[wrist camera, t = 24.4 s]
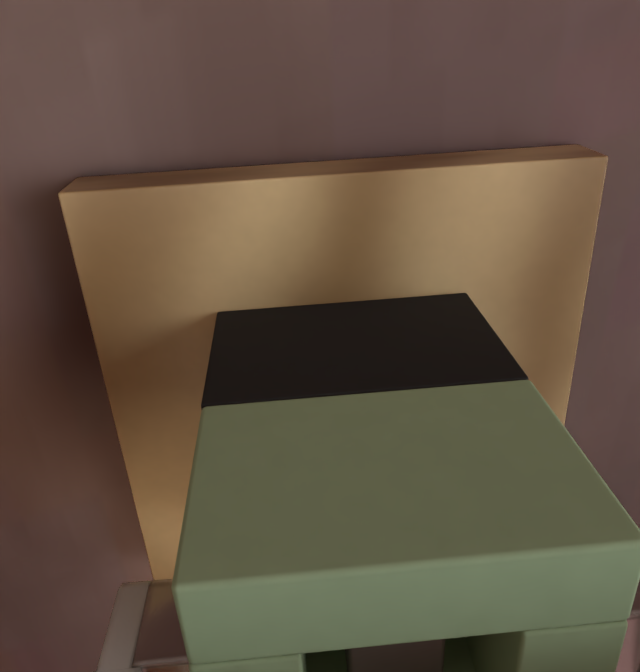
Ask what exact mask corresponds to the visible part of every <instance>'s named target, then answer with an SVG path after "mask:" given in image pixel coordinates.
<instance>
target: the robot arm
mask: <svg viewBox="0 0 640 672" xmlns="http://www.w3.org/2000/svg"><path fill="white" fill-rule="evenodd" d="M172 581H173V579H164V580H152V581H141V582H128V583H122V585H121V586H120V588H119V590H118V591H117V595H116V598H115V602H114V606H113V610H112V613H111V617H110V621H109V625H108V628H107V632H106V636H105V640H104V643H103V647H102V651H101V655H100V658H99V662H98V666H97V670H96V671H95V672H190V671H189V661H188V658H187V654H186V650H185V646H184V641H183V637H182V633H181V628H180V624H179V620H178V615H177V611H176V607H175V602H174V598H173V594H172V589H171V587H172ZM627 622H628V627H627V631H626V635H625V638H624V642H623V646H622V649H621V653H620V657H619V660H618V664H617V668H616V671H615V672H640V580H639V583H638V587H637V591H636V594H635V598H634V602H633V605H632V609H631V613H630V616H629V618H628V619H627Z"/></svg>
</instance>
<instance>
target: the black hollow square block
mask: <svg viewBox="0 0 640 672" xmlns="http://www.w3.org/2000/svg"><path fill="white" fill-rule="evenodd" d="M517 380H529V378H528V376H527V375H526V374H525V372H524V371H523V369H522V368H521V367H520V365H519V364H518V363H517V361H516V360H515V359H514V357H513V356H512V354H511V353H510V352H509V350H508V349H507V348H506V346H505V345H504V344H503V342H502V341H501V339H500V338H499V337H498V335H497V334H496V333H495V331H494V330H493V329H492V327H491V326H490V324H489V323H488V322H487V320H486V319H485V318H484V316H483V315H482V313H481V312H480V311H479V309H478V308H477V307H476V305H475V304H474V303H473V301H472V300H471V298H470V297H469V296H468V294H467V293H457V294H444V295H431V296H418V297H405V298H392V299H379V300H366V301H353V302H340V303H327V304H314V305H301V306H288V307H275V308H262V309H249V310H236V311H223V312H218V313H217V317H216V322H215V328H214V334H213V339H212V345H211V351H210V357H209V362H208V368H207V374H206V380H205V385H204V391H203V397H202V403H201V409H203V408H204V407H206V406H218V405H230V404H242V403H254V402H266V401H278V400H290V399H302V398H314V397H326V396H338V395H350V394H362V393H373V392H385V391H397V390H409V389H421V388H433V387H445V386H457V385H469V384H481V383H493V382H505V381H517Z"/></svg>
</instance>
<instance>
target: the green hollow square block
mask: <svg viewBox="0 0 640 672" xmlns="http://www.w3.org/2000/svg"><path fill="white" fill-rule="evenodd" d="M639 580H640V529H639V528H638V526H637V525H636V524H635V522H634V521H633V520H632V518H631V517H630V515H629V514H628V513H627V511H626V510H625V509H624V507H623V506H622V505H621V503H620V502H619V500H618V499H617V498H616V496H615V495H614V494H613V492H612V491H611V490H610V488H609V487H608V485H607V484H606V483H605V481H604V480H603V479H602V477H601V476H600V474H599V473H598V472H597V470H596V469H595V468H594V466H593V465H592V464H591V462H590V461H589V459H588V458H587V457H586V455H585V454H584V453H583V451H582V450H581V449H580V447H579V446H578V444H577V443H576V442H575V440H574V439H573V438H572V436H571V435H570V434H569V432H568V431H567V429H566V428H565V427H564V425H563V424H562V423H561V421H560V420H559V419H558V417H557V416H556V414H555V413H554V412H553V410H552V409H551V408H550V406H549V405H548V404H547V402H546V401H545V399H544V398H543V397H542V395H541V394H540V393H539V391H538V390H537V389H536V387H535V386H534V384H533V383H532V382H531V381H529V380H517V381H505V382H493V383H481V384H469V385H457V386H445V387H433V388H421V389H409V390H397V391H385V392H373V393H362V394H350V395H338V396H326V397H314V398H302V399H290V400H278V401H266V402H254V403H242V404H230V405H218V406H206V407H204V408H203V409H202V411H201V417H200V423H199V428H198V434H197V440H196V446H195V452H194V458H193V464H192V470H191V475H190V481H189V487H188V493H187V499H186V505H185V511H184V516H183V522H182V528H181V534H180V540H179V546H178V552H177V558H176V563H175V569H174V575H173V581H172V587H171V589H172V594H173V598H174V602H175V607H176V611H177V615H178V620H179V624H180V628H181V633H182V637H183V641H184V646H185V650H186V654H187V658H188V661H189V671H190V672H347V665H346V657H345V649H352V648H362V647H372V646H381V645H391V644H401V643H411V642H420V641H430V640H440V639H445V652H444V667H443V672H615V671H616V668H617V664H618V660H619V657H620V653H621V649H622V646H623V642H624V638H625V635H626V631H627V627H628V622H627V619H628V618H629V616H630V613H631V609H632V605H633V602H634V598H635V594H636V591H637V587H638V583H639Z"/></svg>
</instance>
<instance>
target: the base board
mask: <svg viewBox="0 0 640 672" xmlns="http://www.w3.org/2000/svg"><path fill="white" fill-rule="evenodd" d="M607 162H608V156H606V155H604V154H601V153H599V152H596V151H594V150H591V149H589V148H586V147H583V146H581V145H578V144H574V145H559V146H544V147H528V148H513V149H498V150H483V151H468V152H453V153H438V154H423V155H407V156H392V157H377V158H362V159H347V160H332V161H317V162H302V163H286V164H271V165H256V166H241V167H226V168H211V169H196V170H181V171H165V172H150V173H135V174H120V175H105V176H90V177H78V178H76V179H75V180H74V181H72V182H71V183H70V184H69V185H67V186H66V187H65V188H64V189H63V190H61V191H60V192H59V193H58V197H59V201H60V205H61V209H62V213H63V217H64V221H65V225H66V229H67V233H68V237H69V241H70V245H71V249H72V253H73V257H74V261H75V265H76V269H77V273H78V277H79V281H80V285H81V289H82V293H83V297H84V301H85V305H86V309H87V313H88V317H89V321H90V325H91V329H92V334H93V338H94V342H95V346H96V350H97V354H98V358H99V362H100V366H101V370H102V374H103V378H104V382H105V386H106V390H107V394H108V398H109V402H110V406H111V410H112V414H113V418H114V422H115V426H116V430H117V434H118V438H119V442H120V446H121V450H122V454H123V458H124V462H125V466H126V471H127V475H128V479H129V483H130V487H131V491H132V495H133V499H134V503H135V507H136V511H137V515H138V519H139V523H140V527H141V531H142V535H143V539H144V543H145V547H146V551H147V555H148V559H149V563H150V567H151V571H152V575H153V579H154V580H164V579H173V575H174V569H175V563H176V558H177V552H178V546H179V540H180V534H181V528H182V522H183V516H184V511H185V505H186V499H187V493H188V487H189V481H190V475H191V470H192V464H193V458H194V452H195V446H196V440H197V434H198V428H199V423H200V417H201V411H202V409H201V403H202V397H203V391H204V385H205V380H206V374H207V368H208V362H209V357H210V351H211V345H212V339H213V334H214V328H215V322H216V317H217V313H218V312H223V311H236V310H249V309H262V308H275V307H288V306H301V305H314V304H327V303H340V302H353V301H366V300H379V299H392V298H405V297H418V296H431V295H444V294H457V293H467V294H468V296H469V297H470V298H471V300H472V301H473V303H474V304H475V305H476V307H477V308H478V309H479V311H480V312H481V313H482V315H483V316H484V318H485V319H486V320H487V322H488V323H489V324H490V326H491V327H492V329H493V330H494V331H495V333H496V334H497V335H498V337H499V338H500V339H501V341H502V342H503V344H504V345H505V346H506V348H507V349H508V350H509V352H510V353H511V354H512V356H513V357H514V359H515V360H516V361H517V363H518V364H519V365H520V367H521V368H522V369H523V371H524V372H525V374H526V375H527V376H528V378H529V381H531V382H532V383H533V384H534V386H535V387H536V389H537V390H538V391H539V393H540V394H541V395H542V397H543V398H544V399H545V401H546V402H547V404H548V405H549V406H550V408H551V409H552V410H553V412H554V413H555V414H556V416H557V417H558V419H559V420H560V421H561V423H562V424H563V425H564V424H565V418H566V412H567V406H568V400H569V394H570V388H571V382H572V376H573V369H574V363H575V357H576V351H577V345H578V339H579V333H580V327H581V321H582V315H583V309H584V302H585V296H586V290H587V284H588V278H589V272H590V266H591V260H592V254H593V248H594V242H595V235H596V229H597V223H598V217H599V211H600V205H601V199H602V193H603V187H604V181H605V175H606V168H607ZM444 652H445V639H440V640H430V641H420V642H411V643H401V644H391V645H381V646H372V647H362V648H352V649H345V657H346V665H347V672H443V667H444Z"/></svg>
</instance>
